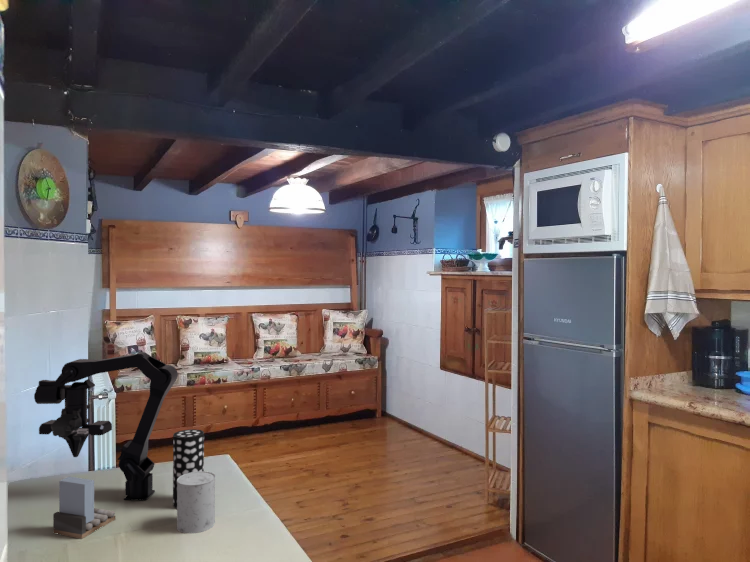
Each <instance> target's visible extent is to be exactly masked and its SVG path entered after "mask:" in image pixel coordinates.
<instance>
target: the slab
mask: <svg viewBox="0 0 750 562" xmlns="http://www.w3.org/2000/svg"><path fill="white" fill-rule="evenodd" d="M58 482H59V483H58V484H59V488H58V490H59V491H58V492H59V496H58V498H59V500H58V501H59V502H58V507H59V511H58V512H62V513H68V514H74V515H80V516H86V523H88V522H90V521H92V520H94V508H95V479H88V478H81V477H76V476H75V477H74V476H67V477H64V478H62V479H60V480H59V481H58Z"/></svg>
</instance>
